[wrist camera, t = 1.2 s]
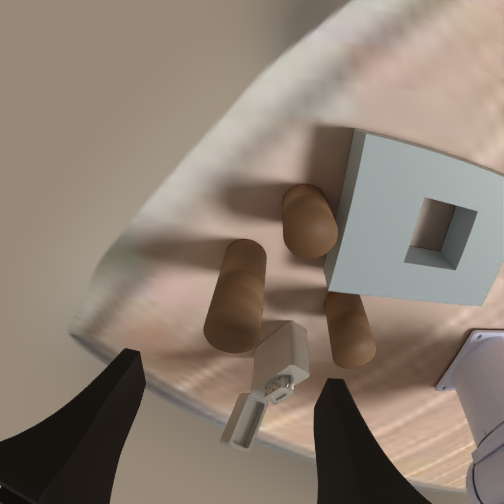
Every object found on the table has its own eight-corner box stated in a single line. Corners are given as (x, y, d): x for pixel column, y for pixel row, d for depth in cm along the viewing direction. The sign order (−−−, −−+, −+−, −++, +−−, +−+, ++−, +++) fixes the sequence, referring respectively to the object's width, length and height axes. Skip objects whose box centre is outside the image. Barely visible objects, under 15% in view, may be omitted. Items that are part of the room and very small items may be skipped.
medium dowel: (365, 288, 21) (382, 339, 16) (354, 318, 22) (367, 369, 18) (329, 284, 21) (340, 336, 16) (320, 314, 22) (327, 367, 18)
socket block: (508, 176, 16) (529, 188, 14) (467, 287, 20) (481, 306, 18) (354, 128, 16) (366, 133, 14) (323, 268, 20) (328, 290, 18)
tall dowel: (269, 242, 20) (264, 315, 13) (263, 277, 21) (256, 356, 15) (227, 236, 20) (204, 307, 13) (224, 272, 21) (203, 348, 15)
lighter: (290, 319, 22) (292, 413, 15) (307, 331, 23) (314, 422, 16) (231, 366, 25) (217, 449, 18) (247, 375, 26) (238, 457, 19)
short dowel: (330, 187, 18) (343, 213, 14) (321, 228, 19) (331, 261, 15) (285, 180, 18) (287, 204, 14) (279, 222, 19) (279, 254, 15)
